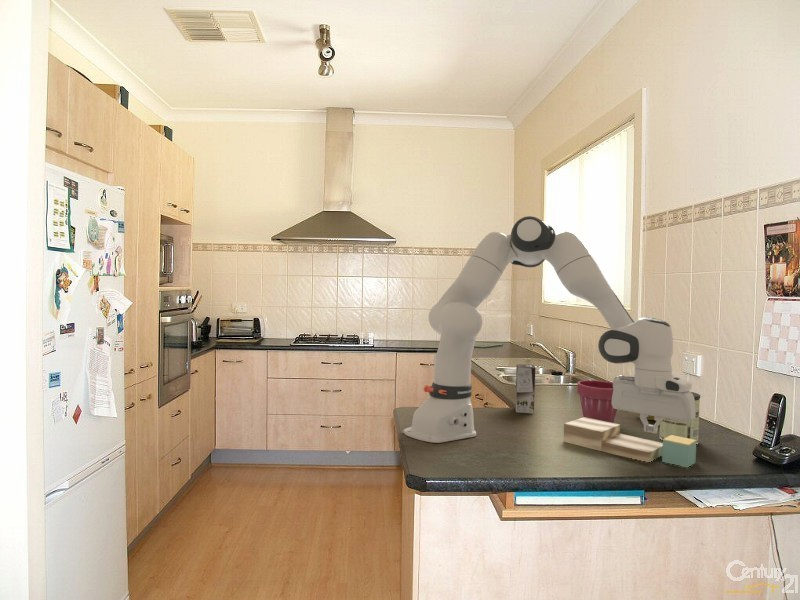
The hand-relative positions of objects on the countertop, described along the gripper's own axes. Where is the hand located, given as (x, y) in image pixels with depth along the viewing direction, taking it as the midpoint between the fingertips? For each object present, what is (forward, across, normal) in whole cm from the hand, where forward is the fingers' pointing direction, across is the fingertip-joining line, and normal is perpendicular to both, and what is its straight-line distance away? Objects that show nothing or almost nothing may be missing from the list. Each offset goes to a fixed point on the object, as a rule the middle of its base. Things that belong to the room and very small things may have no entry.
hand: (650, 432), depth 136 cm
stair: (+6, -10, 0) cm, 12 cm away
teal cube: (0, +7, 0) cm, 7 cm away
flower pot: (+7, -16, +43) cm, 46 cm away
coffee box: (+7, -50, +19) cm, 54 cm away
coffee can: (+7, 0, +22) cm, 23 cm away
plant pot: (+7, -25, +24) cm, 35 cm away
